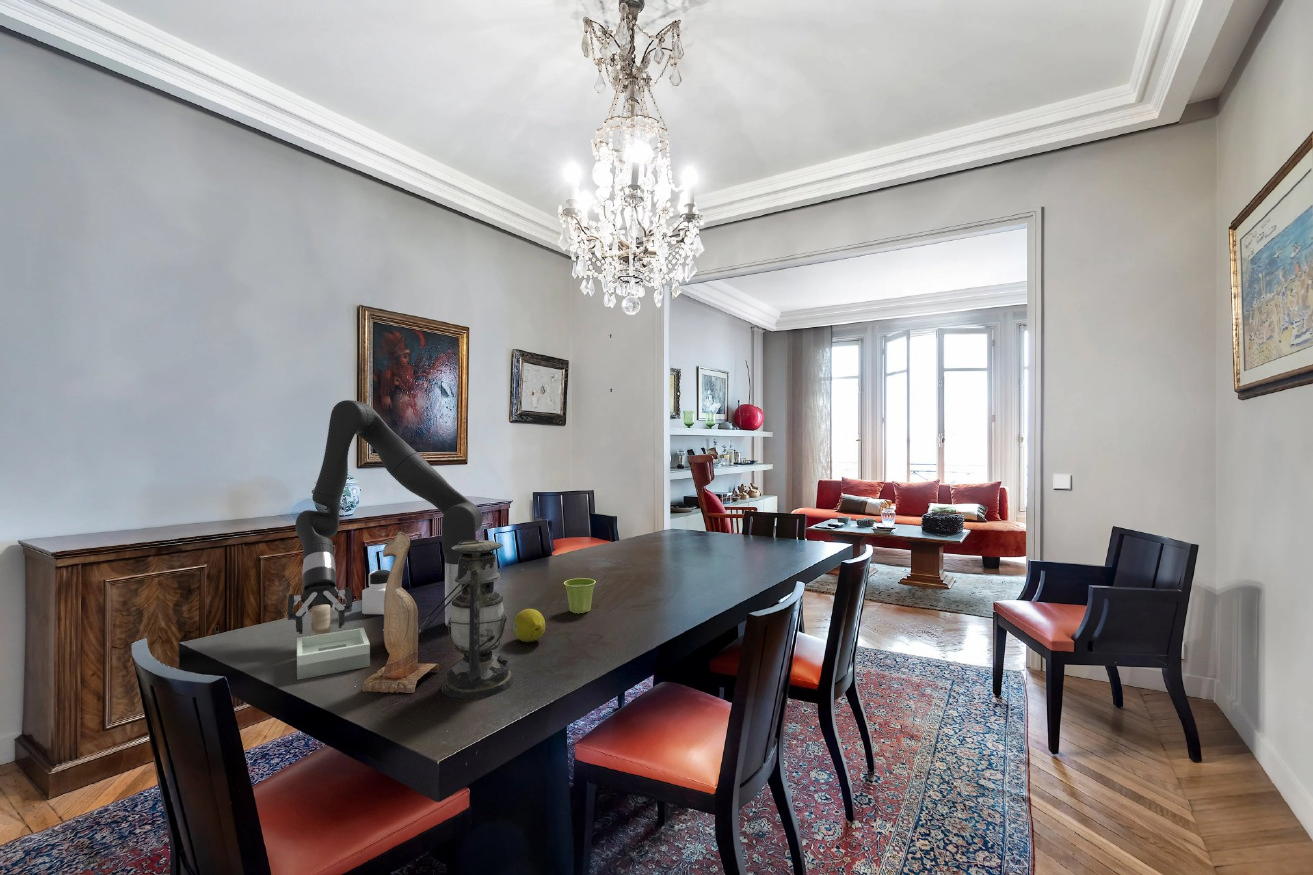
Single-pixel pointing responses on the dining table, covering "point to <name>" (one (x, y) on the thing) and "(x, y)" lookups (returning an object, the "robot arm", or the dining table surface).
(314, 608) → the peg
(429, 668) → the bird sculpture
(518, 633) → the lemon
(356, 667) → the socket box
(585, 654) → the dining table surface
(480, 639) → the lantern
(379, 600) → the medicine bottle
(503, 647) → the dining table surface
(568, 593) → the plant pot
